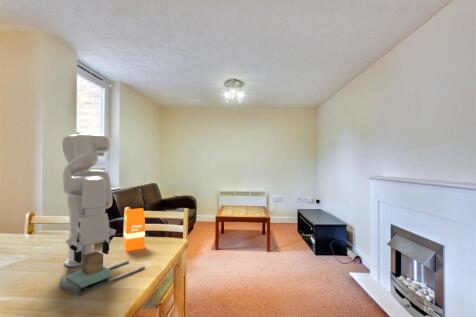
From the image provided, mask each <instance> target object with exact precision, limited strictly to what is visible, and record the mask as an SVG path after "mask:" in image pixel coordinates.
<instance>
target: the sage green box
mask: <svg viewBox="0 0 476 317" xmlns="http://www.w3.org/2000/svg"><path fill="white" fill-rule="evenodd" d="M107 268H108V267H106V266H103V270H102V271H100V272H97V273H94V274H91V275H87V274H85V273H83V272H82V269H80V270H76V271H74V272H71V273H69V274H66V275H65V277H66V278H67V279H69V280H71V281H73V282H75V283H77V284H78V285H80V286H81V291H82V290H85V289H87V287H88V286H89V285H92V284H96V283H97V282H101V283H102V282H105V281H107V280H109V278H110V277H111V274H112V273H111V271H112V269H111V270H110V269H107Z"/></svg>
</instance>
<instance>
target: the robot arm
mask: <svg viewBox="0 0 476 317" xmlns="http://www.w3.org/2000/svg"><path fill="white" fill-rule="evenodd" d="M61 145H62V152H63V155H64V158H65V159H66V161H67V165H66V166H65V167H64V170H63V173H62V181H63V182H62V184H63V192H64V193H65V194H66V195H67V208H68V217H69V218H68V219H69V225H68V226H69V228H68V229H69V230H68V231H69V232H68V239H67V240H65V244H66V245H67V247H68V258H66V259H65V260H64V261H63V264H64V266H66V267H70V268H71V267H72V268H73V267H82V255H85V254H88V253H92V252H95V245H96V244H95V243H98V242H102V241H104V242H102V244H101V245H102V246H101V248H102V249H101V253H102V254H103V255H109V251H110V244H111V243H112V242H111V241H112V240H113V239H114V237H115V235H116V232H117V230H116V229H114V228H111V227H110V221H109V216H108V213H107V212H106V210H107V209H109V208H111V207H112V205H113V198H114V197H113V192H112V185H111V178H110V175H109V173H108V172H107V171H106V170H105V169H91V168H92V167H94V166H95V165H96V164H97V163H98V160H99V158H98V154H104V153H105V154H106V153H107V152H109V150H110V140H109V138H108V137H107V135H104V134H101V133H100V134H99V133H89V132H88V133H84V132H83V133H77V134H70V135H66V136H64V137H63V138H62V143H61ZM98 244H99V243H98Z"/></svg>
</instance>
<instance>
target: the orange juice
mask: <svg viewBox="0 0 476 317" xmlns="http://www.w3.org/2000/svg"><path fill="white" fill-rule="evenodd" d="M144 211H145V210H144V207H142V208H139V207H138V208H130V209H125V212H124V220H123V248H124V250H125V251H126V252H129V251H130V252H131V251H135V250H143V249H145V242H146V241H145V239H146V219H145V212H144Z"/></svg>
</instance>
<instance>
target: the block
mask: <svg viewBox="0 0 476 317" xmlns="http://www.w3.org/2000/svg"><path fill="white" fill-rule="evenodd" d="M103 267H104V253H102V252H99V251H95V250H94V252H92V253H88V254H85V255H82V266H81V270H82V272H83V273H85V274H87V275H91V274H94V273H97V272H100V271H102V270H103Z"/></svg>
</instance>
